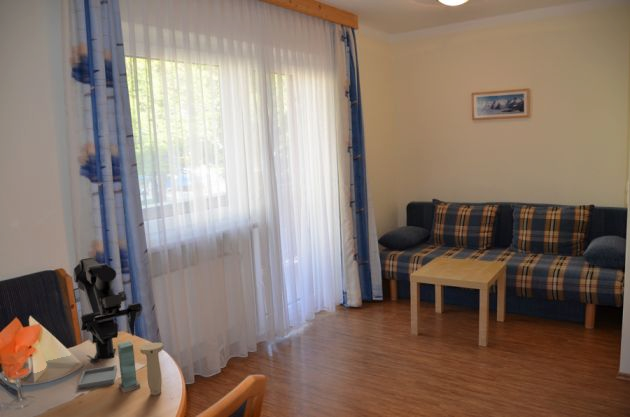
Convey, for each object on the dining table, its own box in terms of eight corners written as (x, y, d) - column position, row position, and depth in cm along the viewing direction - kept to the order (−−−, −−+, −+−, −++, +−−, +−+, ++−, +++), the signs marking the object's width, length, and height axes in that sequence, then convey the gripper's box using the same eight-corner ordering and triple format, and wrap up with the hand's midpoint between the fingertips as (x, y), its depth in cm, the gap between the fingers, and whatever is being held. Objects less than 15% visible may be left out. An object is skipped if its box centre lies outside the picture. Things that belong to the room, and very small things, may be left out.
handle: (167, 395, 151) (162, 347, 149) (144, 399, 149) (139, 351, 147) (166, 387, 155) (162, 341, 153) (145, 391, 154) (140, 344, 151)
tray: (84, 374, 166) (83, 370, 166) (117, 369, 169) (116, 365, 169) (78, 389, 156) (78, 384, 156) (114, 383, 159) (113, 379, 159)
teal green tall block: (119, 386, 157) (114, 344, 155) (135, 381, 160) (131, 339, 158) (123, 392, 153) (119, 349, 151) (140, 387, 156) (135, 344, 154)
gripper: (77, 291, 157) (89, 335, 150) (137, 278, 168) (152, 319, 161) (75, 308, 165) (86, 351, 157) (133, 295, 175) (146, 335, 168)
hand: (118, 339), depth 161 cm, fingers open, 9 cm apart
